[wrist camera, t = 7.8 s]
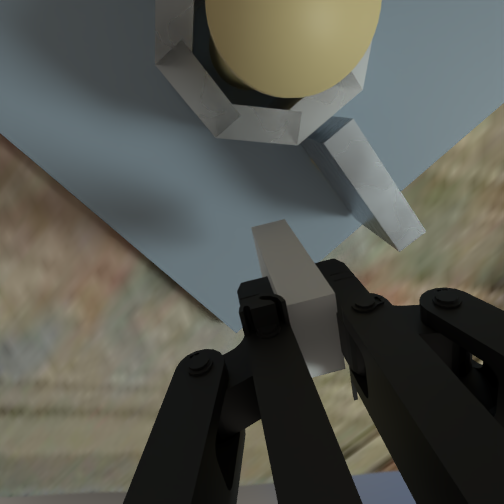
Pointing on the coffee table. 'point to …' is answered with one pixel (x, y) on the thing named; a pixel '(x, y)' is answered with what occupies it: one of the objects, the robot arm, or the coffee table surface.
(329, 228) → the board
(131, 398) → the coffee table surface
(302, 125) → the collar
